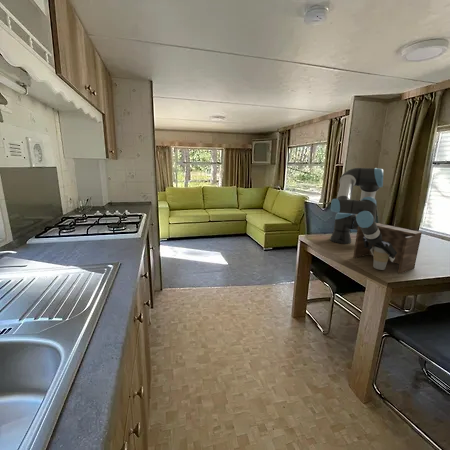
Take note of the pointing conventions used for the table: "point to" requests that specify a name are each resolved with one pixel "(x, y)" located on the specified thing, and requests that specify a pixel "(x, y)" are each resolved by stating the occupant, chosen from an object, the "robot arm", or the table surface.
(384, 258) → the coffee cup
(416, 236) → the walnut box
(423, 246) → the table surface
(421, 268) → the table surface
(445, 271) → the table surface
